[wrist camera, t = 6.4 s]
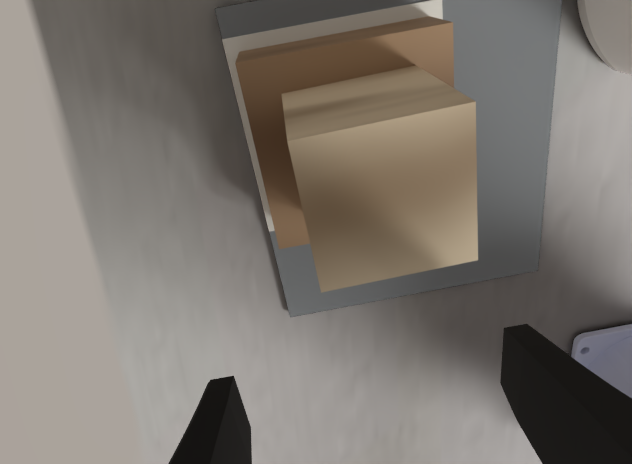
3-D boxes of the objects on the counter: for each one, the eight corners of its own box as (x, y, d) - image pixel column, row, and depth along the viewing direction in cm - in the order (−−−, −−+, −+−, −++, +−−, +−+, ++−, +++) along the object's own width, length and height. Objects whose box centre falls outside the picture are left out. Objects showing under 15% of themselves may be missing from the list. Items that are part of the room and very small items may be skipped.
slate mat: (533, 266, 23) (538, 271, 23) (289, 312, 23) (290, 318, 23) (560, -57, 17) (568, -58, 16) (215, 7, 17) (214, 9, 16)
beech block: (425, 188, 17) (478, 260, 13) (307, 213, 17) (321, 292, 13) (416, 65, 15) (475, 101, 11) (281, 93, 15) (286, 141, 11)
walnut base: (435, 190, 20) (456, 216, 18) (277, 219, 20) (279, 249, 18) (429, 16, 17) (453, 22, 15) (239, 51, 17) (235, 62, 15)
